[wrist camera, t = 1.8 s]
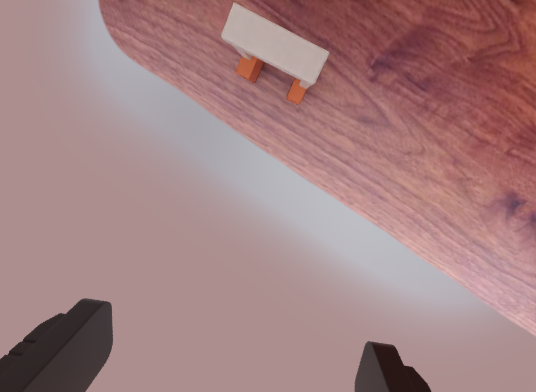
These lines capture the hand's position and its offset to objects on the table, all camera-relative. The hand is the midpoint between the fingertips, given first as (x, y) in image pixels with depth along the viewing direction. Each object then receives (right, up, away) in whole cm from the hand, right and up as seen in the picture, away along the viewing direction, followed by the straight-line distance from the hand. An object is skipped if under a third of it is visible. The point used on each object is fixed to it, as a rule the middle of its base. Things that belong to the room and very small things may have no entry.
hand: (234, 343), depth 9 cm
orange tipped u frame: (+2, +17, +21) cm, 27 cm away
